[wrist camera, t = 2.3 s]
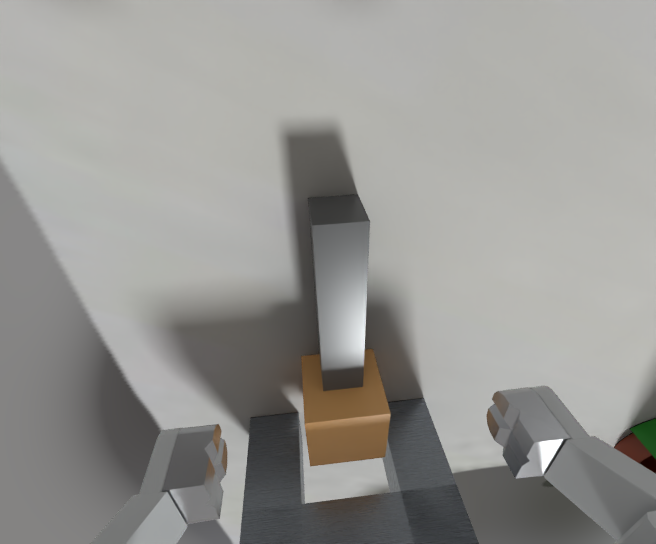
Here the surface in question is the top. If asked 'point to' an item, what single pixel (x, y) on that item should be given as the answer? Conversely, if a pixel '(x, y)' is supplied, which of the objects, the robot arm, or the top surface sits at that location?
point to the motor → (641, 445)
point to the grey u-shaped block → (358, 512)
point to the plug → (342, 341)
